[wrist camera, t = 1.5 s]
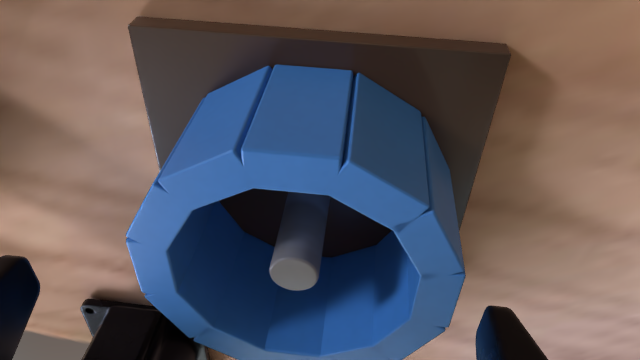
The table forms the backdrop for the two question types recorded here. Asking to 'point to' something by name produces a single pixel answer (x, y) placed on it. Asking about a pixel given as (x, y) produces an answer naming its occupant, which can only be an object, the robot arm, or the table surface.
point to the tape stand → (333, 53)
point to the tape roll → (313, 178)
